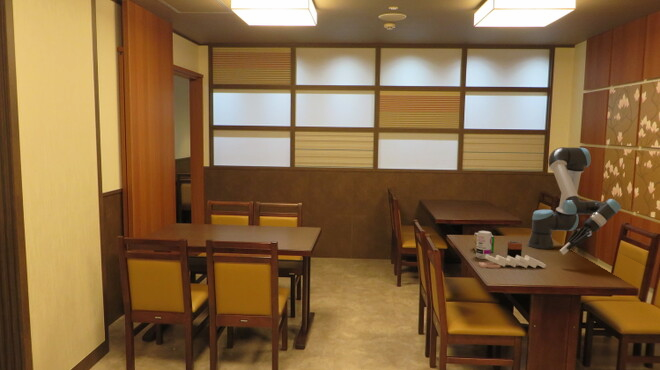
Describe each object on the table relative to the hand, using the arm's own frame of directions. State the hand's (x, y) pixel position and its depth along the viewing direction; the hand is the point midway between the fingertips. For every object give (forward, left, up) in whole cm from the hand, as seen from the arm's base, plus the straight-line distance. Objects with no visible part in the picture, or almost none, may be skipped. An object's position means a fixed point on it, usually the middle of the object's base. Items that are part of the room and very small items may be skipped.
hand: (561, 252), depth 260 cm
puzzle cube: (+30, -35, -8) cm, 47 cm away
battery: (+18, -18, -8) cm, 27 cm away
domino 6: (+10, 0, -7) cm, 12 cm away
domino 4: (+20, 0, -7) cm, 21 cm away
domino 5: (+15, 0, -7) cm, 16 cm away
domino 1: (+34, 0, -8) cm, 35 cm away
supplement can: (+36, -18, -8) cm, 41 cm away
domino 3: (+25, 0, -7) cm, 26 cm away
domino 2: (+31, -1, -7) cm, 32 cm away
